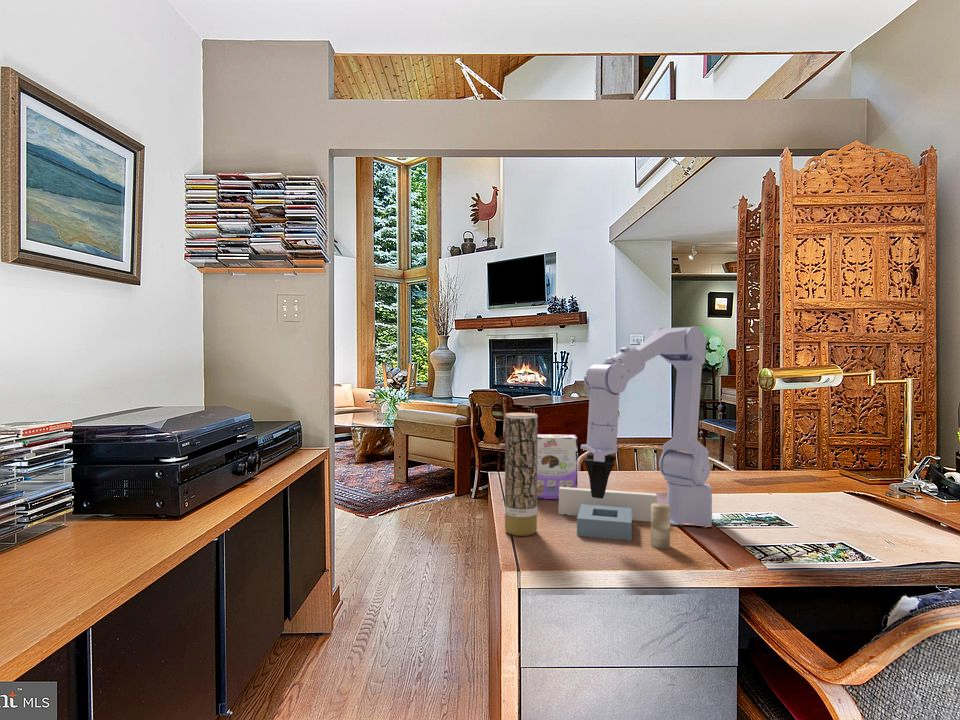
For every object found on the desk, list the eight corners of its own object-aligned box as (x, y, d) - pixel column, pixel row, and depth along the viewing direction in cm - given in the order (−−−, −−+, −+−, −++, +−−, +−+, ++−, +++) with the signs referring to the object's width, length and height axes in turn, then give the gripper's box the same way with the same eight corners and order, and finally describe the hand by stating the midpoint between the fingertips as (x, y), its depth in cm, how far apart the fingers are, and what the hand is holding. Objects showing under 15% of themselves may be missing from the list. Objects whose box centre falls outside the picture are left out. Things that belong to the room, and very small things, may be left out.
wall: (656, 519, 124) (656, 493, 124) (656, 522, 122) (656, 495, 122) (559, 511, 130) (559, 486, 130) (558, 514, 128) (558, 488, 128)
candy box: (575, 495, 145) (576, 433, 145) (577, 501, 139) (578, 437, 139) (524, 493, 147) (524, 432, 147) (523, 499, 141) (524, 436, 141)
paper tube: (535, 538, 111) (535, 416, 111) (502, 536, 112) (503, 415, 112) (538, 528, 118) (539, 413, 117) (507, 525, 119) (507, 412, 119)
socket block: (631, 525, 121) (631, 507, 121) (631, 542, 110) (631, 522, 110) (581, 521, 124) (581, 504, 124) (576, 537, 113) (576, 518, 113)
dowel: (669, 543, 109) (669, 503, 108) (670, 549, 105) (671, 508, 105) (650, 541, 110) (650, 502, 109) (651, 547, 106) (651, 507, 106)
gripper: (585, 420, 115) (581, 484, 114) (578, 425, 101) (574, 498, 100) (619, 423, 113) (615, 488, 112) (617, 428, 99) (613, 503, 99)
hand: (598, 493), depth 106 cm, fingers open, 7 cm apart
